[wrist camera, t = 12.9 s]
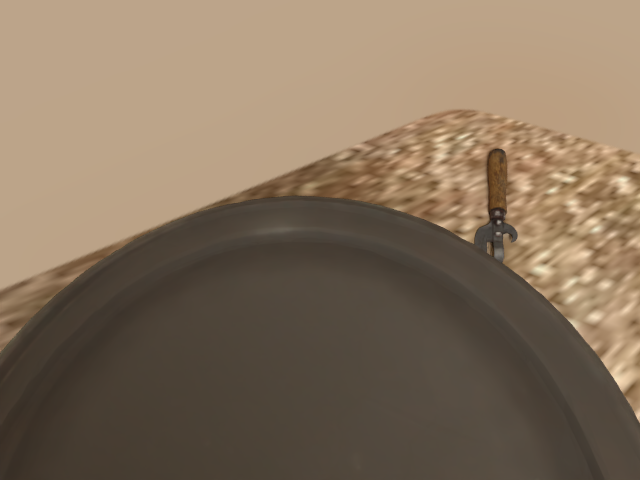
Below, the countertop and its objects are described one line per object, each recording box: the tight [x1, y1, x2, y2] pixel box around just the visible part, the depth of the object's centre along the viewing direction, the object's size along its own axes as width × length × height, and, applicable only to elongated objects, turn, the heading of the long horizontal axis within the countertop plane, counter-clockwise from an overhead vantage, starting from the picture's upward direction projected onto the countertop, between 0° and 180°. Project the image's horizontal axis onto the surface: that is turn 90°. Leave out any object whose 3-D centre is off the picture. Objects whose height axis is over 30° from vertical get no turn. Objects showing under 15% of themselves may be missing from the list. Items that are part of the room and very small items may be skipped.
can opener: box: [475, 149, 517, 263], centre depth 27 cm, size 9×2×1 cm, turn 162°
